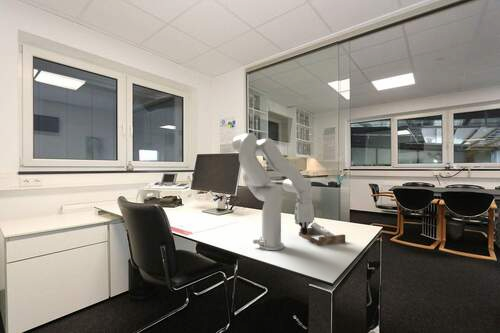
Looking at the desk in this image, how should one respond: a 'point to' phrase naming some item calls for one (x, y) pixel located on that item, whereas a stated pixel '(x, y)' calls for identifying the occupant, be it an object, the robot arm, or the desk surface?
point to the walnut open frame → (323, 238)
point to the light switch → (321, 229)
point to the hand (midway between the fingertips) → (304, 234)
